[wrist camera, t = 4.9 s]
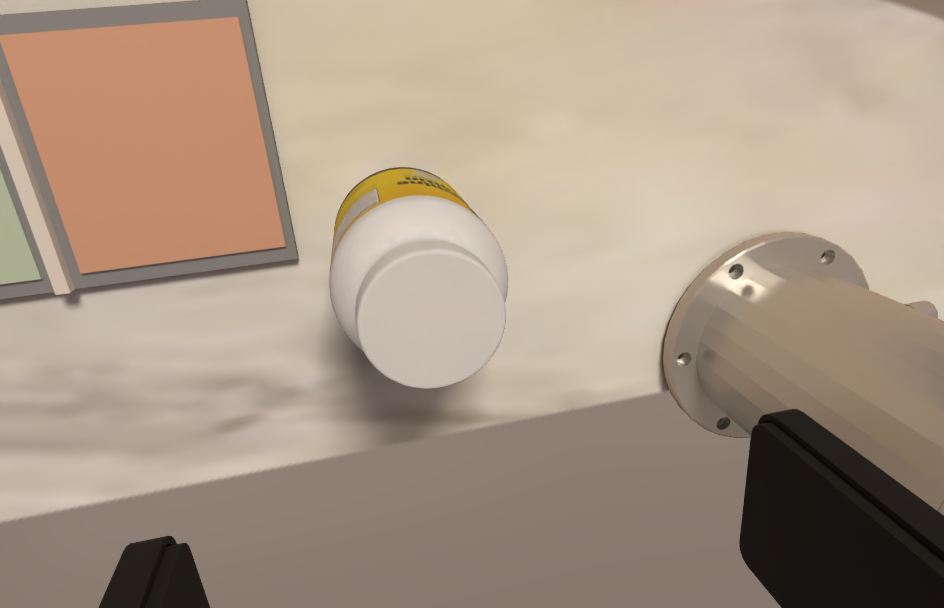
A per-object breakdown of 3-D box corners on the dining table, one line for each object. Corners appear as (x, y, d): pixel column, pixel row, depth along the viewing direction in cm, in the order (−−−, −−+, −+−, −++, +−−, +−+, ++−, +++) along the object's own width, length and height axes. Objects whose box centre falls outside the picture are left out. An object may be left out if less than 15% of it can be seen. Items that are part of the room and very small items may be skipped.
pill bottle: (490, 252, 31) (569, 349, 20) (381, 318, 31) (400, 450, 20) (425, 137, 28) (474, 178, 17) (305, 209, 28) (281, 294, 17)
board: (246, -2, 25) (242, -5, 24) (298, 256, 29) (297, 261, 28) (-333, 40, 22) (-359, 39, 21) (-182, 321, 26) (-200, 329, 25)
